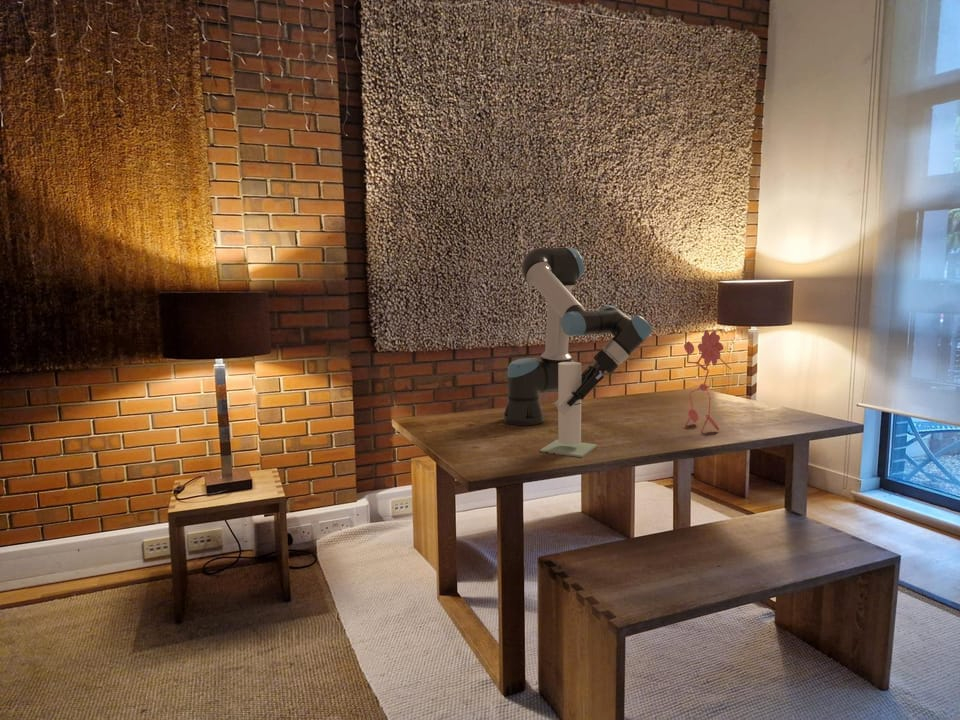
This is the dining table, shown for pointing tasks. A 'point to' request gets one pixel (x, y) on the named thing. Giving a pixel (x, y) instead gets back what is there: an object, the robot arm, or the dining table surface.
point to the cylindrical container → (572, 418)
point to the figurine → (709, 353)
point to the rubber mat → (569, 448)
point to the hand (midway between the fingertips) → (558, 409)
